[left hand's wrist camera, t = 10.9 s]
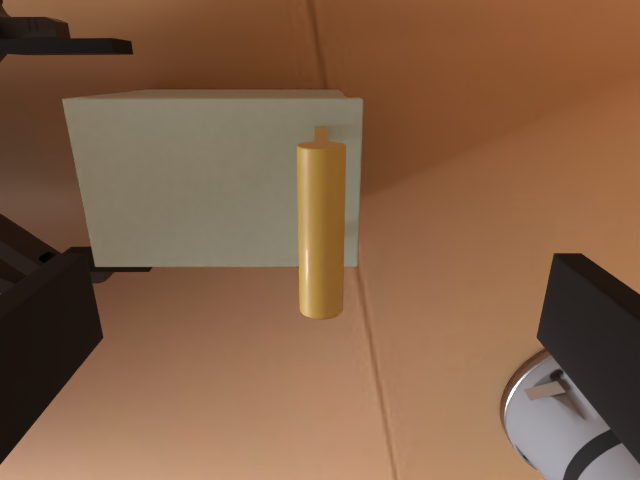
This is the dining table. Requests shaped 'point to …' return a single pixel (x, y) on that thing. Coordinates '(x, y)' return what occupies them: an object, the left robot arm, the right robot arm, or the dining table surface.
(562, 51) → the dining table surface
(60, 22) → the right robot arm
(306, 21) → the dining table surface
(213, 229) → the lid
